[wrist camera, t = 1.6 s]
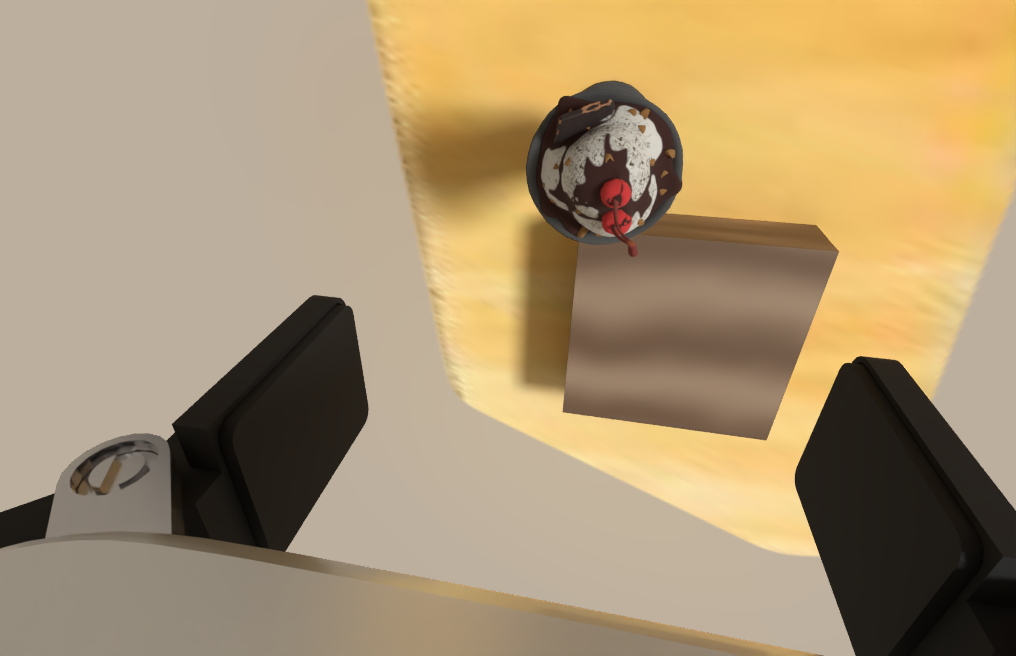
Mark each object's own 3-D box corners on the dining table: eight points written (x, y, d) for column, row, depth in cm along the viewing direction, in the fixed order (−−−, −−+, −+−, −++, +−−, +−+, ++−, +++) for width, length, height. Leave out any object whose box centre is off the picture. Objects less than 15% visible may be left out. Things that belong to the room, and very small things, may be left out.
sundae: (644, 194, 32) (656, 314, 20) (541, 165, 33) (489, 266, 20) (687, 82, 29) (733, 143, 16) (570, 50, 29) (529, 86, 17)
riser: (584, 207, 34) (580, 229, 30) (816, 225, 31) (838, 251, 28) (567, 378, 41) (562, 412, 38) (754, 402, 39) (766, 440, 36)
